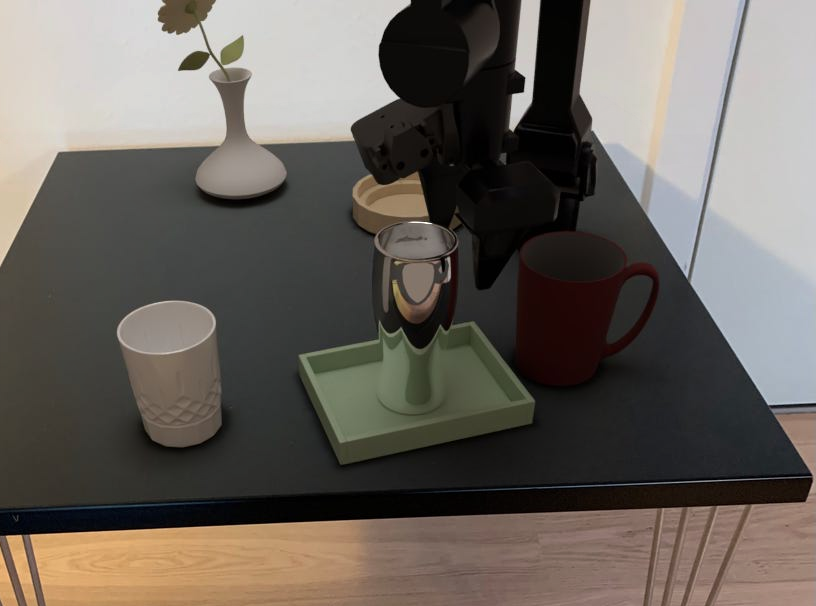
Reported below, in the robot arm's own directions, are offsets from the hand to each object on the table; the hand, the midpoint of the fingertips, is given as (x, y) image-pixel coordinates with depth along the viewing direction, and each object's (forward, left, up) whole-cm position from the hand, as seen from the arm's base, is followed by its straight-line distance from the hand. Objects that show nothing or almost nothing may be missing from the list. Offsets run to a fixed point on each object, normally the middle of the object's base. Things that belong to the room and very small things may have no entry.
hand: (460, 260), depth 73 cm
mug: (-12, 0, -13) cm, 18 cm away
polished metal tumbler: (+4, 0, -13) cm, 13 cm away
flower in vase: (+10, -48, -13) cm, 51 cm away
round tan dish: (-8, -34, -13) cm, 37 cm away
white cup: (+24, -3, -13) cm, 27 cm away
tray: (+4, 0, -13) cm, 13 cm away
